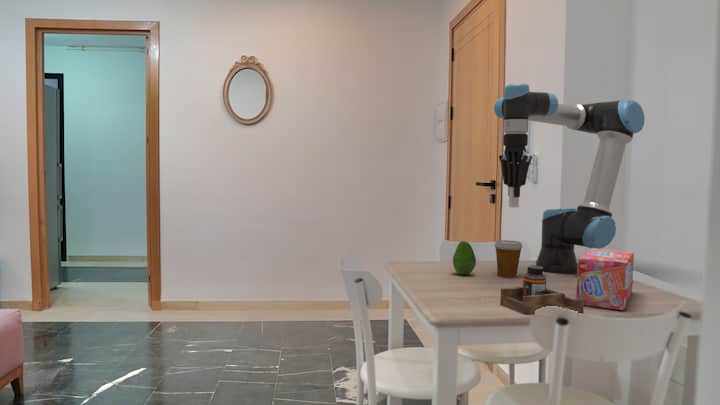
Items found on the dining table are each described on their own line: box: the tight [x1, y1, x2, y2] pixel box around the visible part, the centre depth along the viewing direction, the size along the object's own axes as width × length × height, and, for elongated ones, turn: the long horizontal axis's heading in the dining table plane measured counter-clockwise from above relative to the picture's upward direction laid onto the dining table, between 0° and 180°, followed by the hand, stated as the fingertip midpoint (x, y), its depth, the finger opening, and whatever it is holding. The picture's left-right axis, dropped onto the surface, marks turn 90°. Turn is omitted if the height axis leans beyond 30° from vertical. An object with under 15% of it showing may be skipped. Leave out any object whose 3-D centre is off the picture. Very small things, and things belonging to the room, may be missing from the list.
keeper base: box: [499, 286, 585, 315], centre depth 149 cm, size 17×14×4 cm
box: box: [575, 248, 635, 311], centre depth 162 cm, size 27×13×14 cm, turn 149°
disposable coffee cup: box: [494, 239, 523, 278], centre depth 192 cm, size 10×10×12 cm
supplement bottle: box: [523, 265, 547, 296], centre depth 150 cm, size 6×6×11 cm
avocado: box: [452, 240, 477, 276], centre depth 192 cm, size 8×8×12 cm
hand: (513, 207), depth 176 cm, fingers closed
